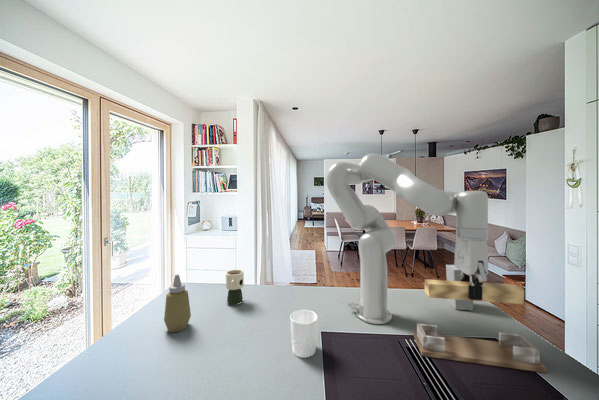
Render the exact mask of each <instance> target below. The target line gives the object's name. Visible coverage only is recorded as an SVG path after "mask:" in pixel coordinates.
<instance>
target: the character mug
mask: <svg viewBox="0 0 599 400" xmlns="http://www.w3.org/2000/svg"><path fill="white" fill-rule="evenodd" d="M244 275H245V274H244V270H242V269H230V270H227V271H226V272H225V289H227V290H228V292H227V298H226V299H227V301H226V303H227V302H228V303H229V304H228V303H227V304H228V305H232V304H238V303H240V302H242V303H243V300H244V299H243V292H242V288H244V283H245V281H244V280H245V279H244V278H245V277H244ZM242 299H243V300H242ZM238 305H239V304H238Z"/></svg>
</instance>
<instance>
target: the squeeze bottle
mask: <svg viewBox="0 0 599 400" xmlns="http://www.w3.org/2000/svg"><path fill="white" fill-rule="evenodd" d="M190 305H191V304H190V299H189V291H188V290H186V285H185V283H182V281H181V277H180V274H179V273H178V274H175V275H174V279H173V283H172V284H171V285H170V286H169V292H168V293H166V297H165V308H164V319H163V321H164V324H165V326H166V328H167V331H168V332H171V333H176V332H181V331H183V330H185V329H186V328H187V327H188V325H189V321H190V319H191V316H192V314H191V307H190Z"/></svg>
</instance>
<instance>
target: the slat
mask: <svg viewBox="0 0 599 400" xmlns="http://www.w3.org/2000/svg"><path fill="white" fill-rule="evenodd" d="M469 285H470V282H463V281H447V279H446V280H444V279H443V280H442V279H429V278H428V279H426V278H425V279H424V293H425V295H426V296H427V298H431V299H445V300H448V299H458V300H471V299H469ZM472 301H473V302H475V301H476V302H489V303H504V304H518V305H519V304H520V305H525V289H524V288H522V287H520V286H518V285H516V284H514V283H513V284H512V283H501V282H500V283H497V282H496V283H495V282H484V283H483V287H482V300H472Z"/></svg>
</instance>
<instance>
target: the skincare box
mask: <svg viewBox="0 0 599 400" xmlns="http://www.w3.org/2000/svg"><path fill="white" fill-rule="evenodd" d="M445 270H446V271H445V274H446V280H447V281H461V277H460V274H461V272H460V270H459V269H458V268H456V267H455V265H454V264H445ZM447 302H448V303H449V304H450V305H451V306H452V307H453V308H454V309H455V310H462V311H463V310H464V311H474V301H472V300H458V299H447Z"/></svg>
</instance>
